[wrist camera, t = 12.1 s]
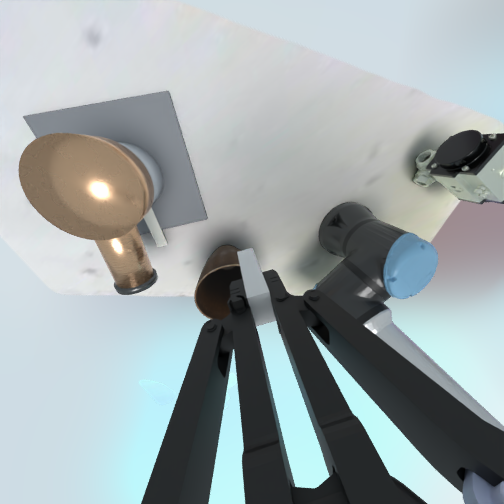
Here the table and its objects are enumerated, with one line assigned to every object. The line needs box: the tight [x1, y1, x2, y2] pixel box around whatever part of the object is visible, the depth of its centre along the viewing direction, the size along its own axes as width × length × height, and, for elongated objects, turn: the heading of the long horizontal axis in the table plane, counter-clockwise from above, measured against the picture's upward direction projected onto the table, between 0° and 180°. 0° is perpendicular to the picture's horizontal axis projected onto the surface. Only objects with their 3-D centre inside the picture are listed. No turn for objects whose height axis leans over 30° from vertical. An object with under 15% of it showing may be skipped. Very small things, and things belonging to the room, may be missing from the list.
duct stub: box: [23, 91, 207, 247], centre depth 36 cm, size 28×24×11 cm
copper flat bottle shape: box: [19, 133, 158, 295], centre depth 30 cm, size 23×13×7 cm, turn 3°
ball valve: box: [413, 130, 504, 204], centre depth 43 cm, size 18×8×18 cm, turn 62°
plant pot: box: [195, 245, 243, 321], centre depth 46 cm, size 15×15×16 cm
